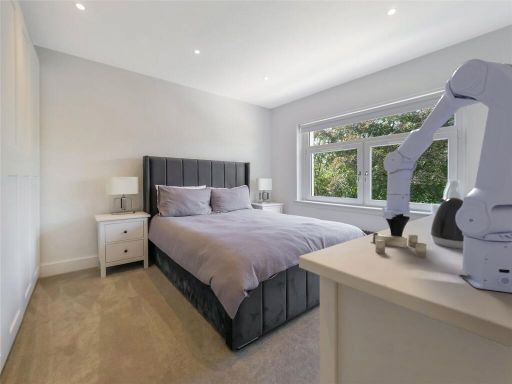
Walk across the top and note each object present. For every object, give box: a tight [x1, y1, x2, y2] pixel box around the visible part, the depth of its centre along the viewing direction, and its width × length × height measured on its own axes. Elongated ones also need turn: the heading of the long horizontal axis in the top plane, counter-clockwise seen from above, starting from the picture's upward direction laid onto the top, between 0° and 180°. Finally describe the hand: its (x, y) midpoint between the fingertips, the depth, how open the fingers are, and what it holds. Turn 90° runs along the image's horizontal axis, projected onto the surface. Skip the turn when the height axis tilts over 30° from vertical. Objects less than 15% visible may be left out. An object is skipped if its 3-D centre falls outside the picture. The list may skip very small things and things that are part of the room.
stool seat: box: [370, 234, 427, 259], centre depth 64 cm, size 14×13×4 cm
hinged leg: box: [372, 232, 408, 248], centre depth 68 cm, size 9×2×3 cm, turn 59°
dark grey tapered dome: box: [430, 197, 464, 250], centre depth 68 cm, size 10×10×15 cm
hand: (396, 239), depth 69 cm, fingers closed, pressing on hinged leg
